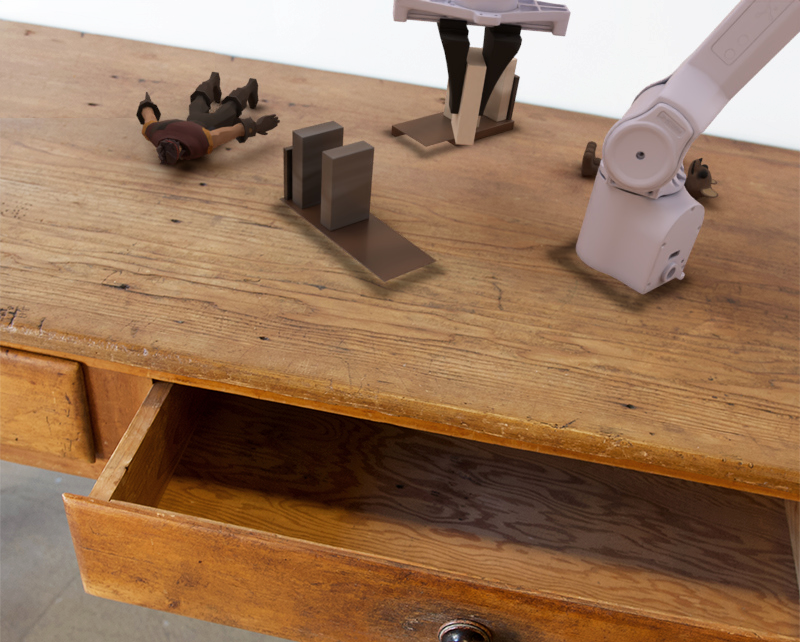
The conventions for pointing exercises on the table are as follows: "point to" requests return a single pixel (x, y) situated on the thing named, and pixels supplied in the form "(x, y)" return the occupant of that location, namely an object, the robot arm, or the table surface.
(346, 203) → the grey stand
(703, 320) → the table surface
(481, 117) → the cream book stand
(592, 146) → the bear figurine
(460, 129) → the cream wooden block
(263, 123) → the figurine
